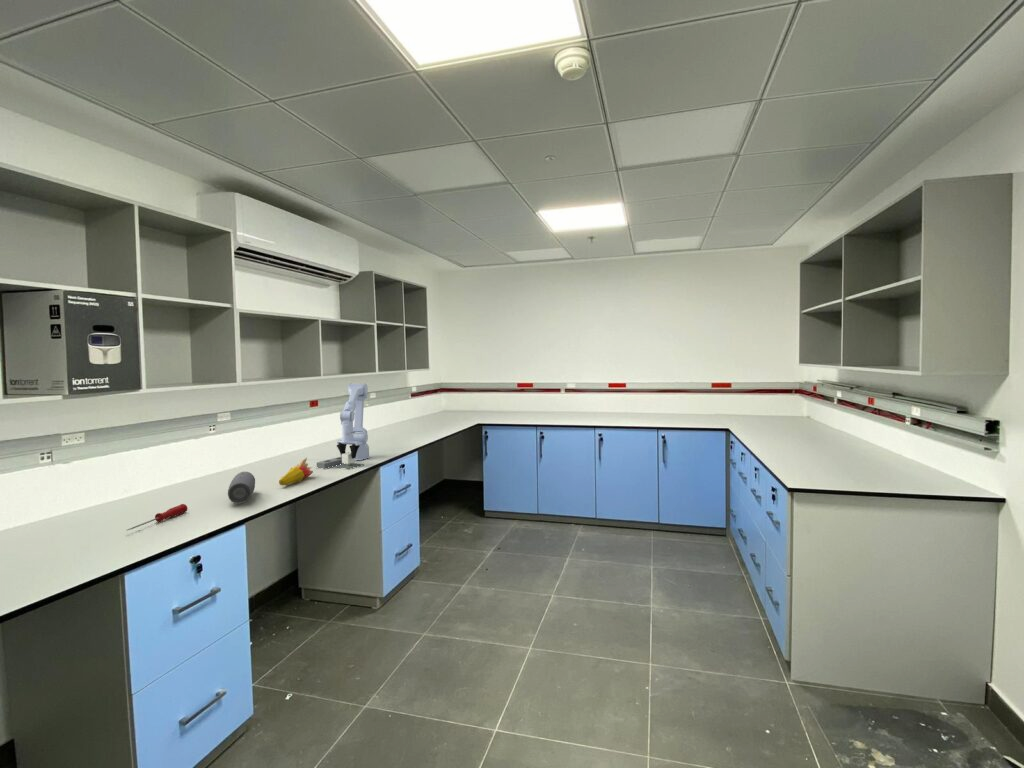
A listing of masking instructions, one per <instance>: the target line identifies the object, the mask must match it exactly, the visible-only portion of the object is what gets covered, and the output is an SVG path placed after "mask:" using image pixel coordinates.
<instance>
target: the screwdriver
mask: <svg viewBox="0 0 1024 768" xmlns="http://www.w3.org/2000/svg"><path fill="white" fill-rule="evenodd" d="M187 511H188V506H187V504H185V503H181V504H179V505H176V506H173V507H171V508H169V509H167V510H165V511H164V512H158V513H156V514H155V515H154V518H153V519H151V520H147V521H145V522H143V523H140V524H137V525H136V526H133V527H131V528H128V529H126V530H125V531H130V530H133V529H136V528H139V527H142V526H144V525H147V524H148V523H151V522H154V521H156V522H157V523H161V522H163V521H164V520H165V519H168V518H174V517H177V516H179V515H181V514H185V513H186V512H187Z"/></svg>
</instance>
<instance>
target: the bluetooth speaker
mask: <svg viewBox="0 0 1024 768" xmlns="http://www.w3.org/2000/svg"><path fill="white" fill-rule="evenodd" d="M255 487H256V478H255V475H254V474H252V473H251V472H249V471H241V472H238V473H237V474H236V475H235V476H234V477H233V478H232V479H231V481H230V484H229V486H228V489H227V496H228V500H230V502H232V503H233V504H242V503H243V504H244V503H245V502H247V501H248V500H249V499H251V497H252V494H253V493H254V491H255Z"/></svg>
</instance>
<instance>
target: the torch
mask: <svg viewBox="0 0 1024 768" xmlns="http://www.w3.org/2000/svg"><path fill="white" fill-rule="evenodd" d="M307 460H308V458H307V457H306V458H304V459H302V460H301V461H300V463H297V464H295V465H294V466H293V467H290V469H289V470H288V471H287V472H286V474H284V475H283V476H282V477H280V479H279V480H278V484H279V485H280V486H289V485H292V484H295V483H300V482H299V481H301V482H302V481H303V480H304V479H306V478H308V477H310V476H311V475H312V474H313V473H314V471H313V470H311V469H312V468H313V466H310V467H308V465H309V462H307ZM303 478H304V479H303Z"/></svg>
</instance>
